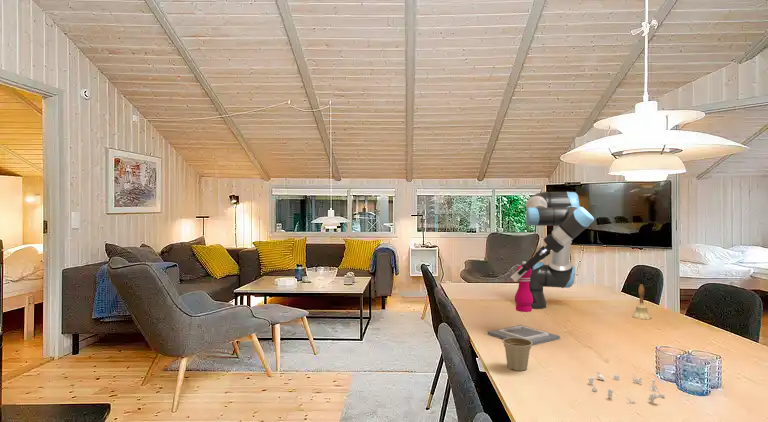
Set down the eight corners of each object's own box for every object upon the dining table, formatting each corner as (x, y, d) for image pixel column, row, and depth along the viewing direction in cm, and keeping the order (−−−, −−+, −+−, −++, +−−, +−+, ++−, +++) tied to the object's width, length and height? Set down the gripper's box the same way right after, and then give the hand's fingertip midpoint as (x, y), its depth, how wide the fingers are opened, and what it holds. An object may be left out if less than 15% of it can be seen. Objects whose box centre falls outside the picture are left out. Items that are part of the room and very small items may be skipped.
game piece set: (681, 405, 125) (681, 390, 125) (609, 407, 124) (609, 392, 124) (636, 378, 144) (636, 366, 144) (574, 379, 143) (574, 367, 143)
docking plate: (487, 334, 192) (487, 329, 192) (520, 327, 203) (520, 323, 203) (526, 346, 175) (526, 341, 175) (559, 338, 186) (560, 333, 186)
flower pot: (516, 374, 146) (516, 347, 145) (496, 365, 154) (496, 339, 154) (538, 370, 150) (538, 343, 150) (517, 361, 158) (517, 336, 158)
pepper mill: (530, 308, 192) (531, 260, 192) (534, 312, 184) (535, 262, 184) (512, 308, 192) (513, 260, 192) (516, 312, 185) (516, 262, 185)
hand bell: (632, 318, 222) (633, 285, 222) (630, 314, 230) (631, 282, 229) (652, 320, 219) (653, 286, 219) (650, 316, 226) (650, 283, 226)
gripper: (561, 248, 173) (516, 288, 180) (567, 245, 190) (525, 281, 197) (547, 233, 175) (503, 274, 183) (553, 231, 192) (513, 268, 200)
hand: (514, 278), depth 190 cm, fingers closed on pepper mill, 6 cm apart
